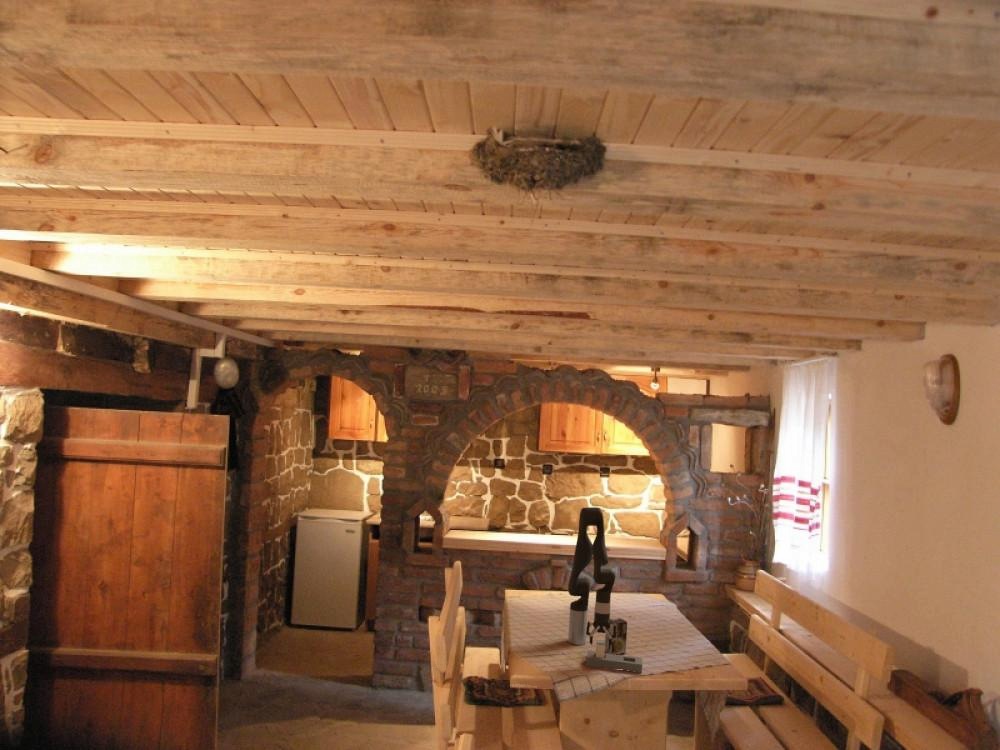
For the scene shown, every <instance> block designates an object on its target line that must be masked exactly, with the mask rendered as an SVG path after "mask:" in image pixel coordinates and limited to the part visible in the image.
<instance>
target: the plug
mask: <svg viewBox="0 0 1000 750" xmlns="http://www.w3.org/2000/svg"><path fill="white" fill-rule="evenodd" d="M595 644H596V646H595V652H596V657H597V658H604V653H605V640H600V639H597V640H596V643H595Z"/></svg>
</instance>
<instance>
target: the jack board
mask: <svg viewBox="0 0 1000 750" xmlns="http://www.w3.org/2000/svg"><path fill="white" fill-rule="evenodd" d="M586 654H587V656H586V666H585V667H588V668H597V669H604V668H606V670H612V669H623V670H629V671H635V672H634V673H636V672H640V673H639V674H642V673H643V657H638V656H630V655H624V654H623V655H622V654H617V655H615V654H608V653H607V652H604V658H597V657H596V651H589V650H588V651H587V653H586Z"/></svg>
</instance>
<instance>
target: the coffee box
mask: <svg viewBox="0 0 1000 750" xmlns="http://www.w3.org/2000/svg"><path fill="white" fill-rule="evenodd" d="M614 624H616V638H613V639H612V645H611V646H610V647H609V636H608V635H607V634H606V633H605V636H604V638H605V639H604V641H605V651H604V653H607V654H617V655H622V654H621V653H624V654H626V653H627V634H628V632H627V631H628V621H626V620H625V619H623V618H620V617H619V618H610V625H614ZM608 630H609V631H610V633H611V635H613V629H612V628H611V627H610V628H609V629H608Z"/></svg>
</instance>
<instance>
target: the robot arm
mask: <svg viewBox="0 0 1000 750" xmlns="http://www.w3.org/2000/svg"><path fill="white" fill-rule="evenodd" d="M579 512H580V513H579V521H578V531H577V539H576V544H575V548H574V549H575V550H574V556H573V564H572V568H571V573H570V576H569V581H568V585H567V586H568V588H567V589H568V595H569V596H572V597H579V598H578V599H577V600H576V599H575V600H574V601H571V602H570V604H569V620H568V635H567V643H569V644H572V645H577V646H581V645H585V644H586V641H587V636H589V644H590V645H591V646H592V645H593V643H594V641H593V639H594V635H595V634H596V633H598V634H599V633H600V634H605V635H606V634H607V635H608V636H609V647H610V646H611V645H612V639H613V638H616V624H614V625H610V619H611V598H612V597H611V596H612V591H613V587H614V585H615V581H616V573H615V571H614V570H613V569H609V568H607V569H606V568H604V569H602V567H604V566H606V565H608V564H609V557H608V552H607V547H606V546H607V545H606V540H605V539H606V537H605V521H604V513H603V511H602V508H601V507H598V506H597V507H589V506H588V507H582V508H581V510H580V511H579ZM593 526H596V535H595V538H594V541H593V542H592V540H591V538H590V537H589V535H588V533H587V531H588V530H587V529H588V527H593ZM592 560H593V575H592V576H593V577H592V578H593V579H592V580H593V581H594V583H595V584H597V585H604V586H603V587H601V588H597V589H596V592H595V603H594V616H593V622H591V621H588V612H589V611H588V610H589V609H588V607H589V598H590V590H591V585H590V584H591V583H590V580H589V579H588V578H586V577H580V575H581V574H582V572H583V571H584V570H585V569H586V568H587V567H588V566H589V565H590V563H591V562H592ZM592 626H593V629H592V631H591V632H590V628H591V627H592ZM610 627H611V628H612V629H613V635H611V633H610V631H609V630H608V629H609V628H610Z"/></svg>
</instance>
